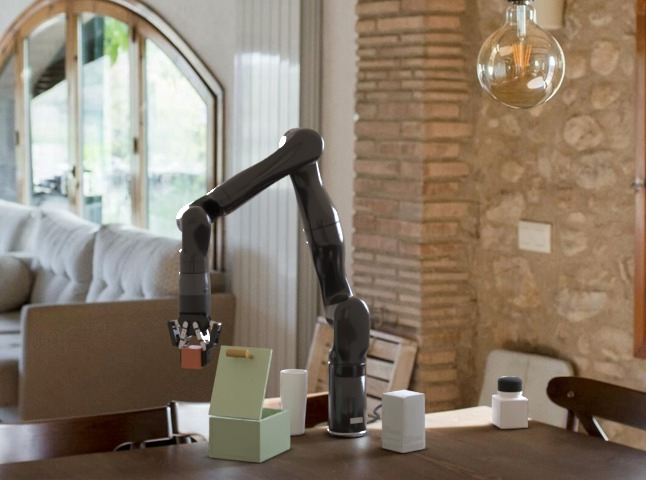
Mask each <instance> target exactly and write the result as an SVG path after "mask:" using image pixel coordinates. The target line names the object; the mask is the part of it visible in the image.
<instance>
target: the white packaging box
mask: <svg viewBox="0 0 646 480" xmlns="http://www.w3.org/2000/svg"><path fill="white" fill-rule="evenodd" d="M425 395H426V394H425V393H422V392H417V391H412V390H407V389H400V390H393V391H389V392H382V393H381V404H382V407H381V449H385V450H389V451H393V452H397V453H401V454H405V453H411V452H415V451H422V450H425V449H426V404H425V403H426V396H425Z"/></svg>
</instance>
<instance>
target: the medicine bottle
mask: <svg viewBox="0 0 646 480" xmlns="http://www.w3.org/2000/svg"><path fill="white" fill-rule="evenodd" d="M491 423H492V424H493V425H494V426H496V427H497V428H499V429H501V430H512V429H528V428H529V399H528V398H527V397H524V396H523V380H522V378H520V377H518V376H513V375H505V376H500V377H499V378H498V379H497V394H492V395H491Z"/></svg>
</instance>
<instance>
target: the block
mask: <svg viewBox="0 0 646 480" xmlns="http://www.w3.org/2000/svg"><path fill="white" fill-rule="evenodd" d="M201 351H203V350H202V348H201V345H193V344H191V345H189V346H187V347H184V348H181V361H182V363H181V369H189V370H190V369H191V370H200V369H203V368H207V367H209V366H210V364H209V365H208V366H206V367H202V366H201Z"/></svg>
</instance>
